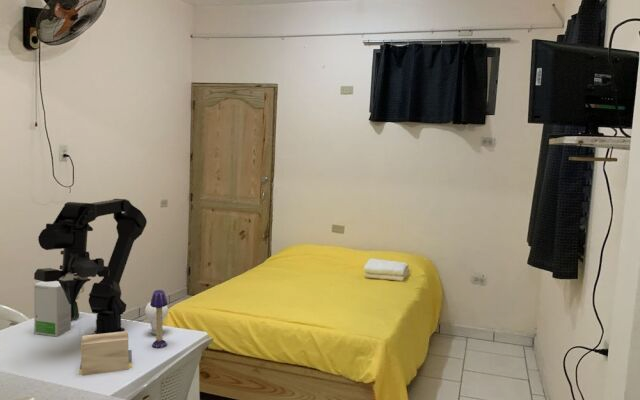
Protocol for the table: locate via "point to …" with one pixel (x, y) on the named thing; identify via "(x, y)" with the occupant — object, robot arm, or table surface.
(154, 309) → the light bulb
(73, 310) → the character mug
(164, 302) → the toy lamp
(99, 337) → the pine block
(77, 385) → the table surface
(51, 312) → the skincare box
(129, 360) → the gray board
